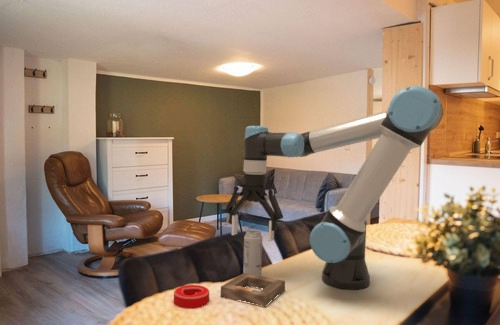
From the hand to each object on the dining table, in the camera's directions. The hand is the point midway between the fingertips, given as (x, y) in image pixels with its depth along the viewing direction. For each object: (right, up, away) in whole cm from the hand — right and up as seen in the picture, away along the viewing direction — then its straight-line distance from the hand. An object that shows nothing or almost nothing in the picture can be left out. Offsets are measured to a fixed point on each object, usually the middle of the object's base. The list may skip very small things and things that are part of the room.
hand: (252, 237), depth 126 cm
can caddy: (0, -14, -14) cm, 20 cm away
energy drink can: (0, -13, 0) cm, 13 cm away
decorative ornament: (-17, -14, -21) cm, 30 cm away
